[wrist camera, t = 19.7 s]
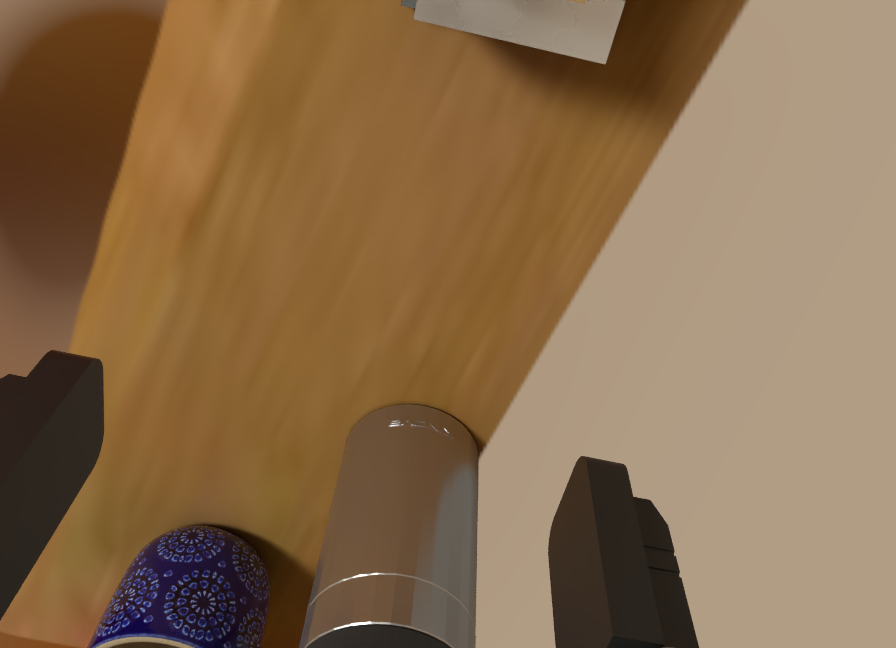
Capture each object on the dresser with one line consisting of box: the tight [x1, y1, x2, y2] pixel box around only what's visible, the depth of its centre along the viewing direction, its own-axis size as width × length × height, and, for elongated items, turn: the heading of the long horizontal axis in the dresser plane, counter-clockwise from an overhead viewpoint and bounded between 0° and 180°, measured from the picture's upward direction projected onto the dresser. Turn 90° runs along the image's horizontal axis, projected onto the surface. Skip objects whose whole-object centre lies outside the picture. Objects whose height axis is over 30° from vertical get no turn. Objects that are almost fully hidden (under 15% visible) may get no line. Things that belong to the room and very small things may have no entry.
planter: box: [87, 525, 271, 648], centre depth 57 cm, size 11×11×11 cm
